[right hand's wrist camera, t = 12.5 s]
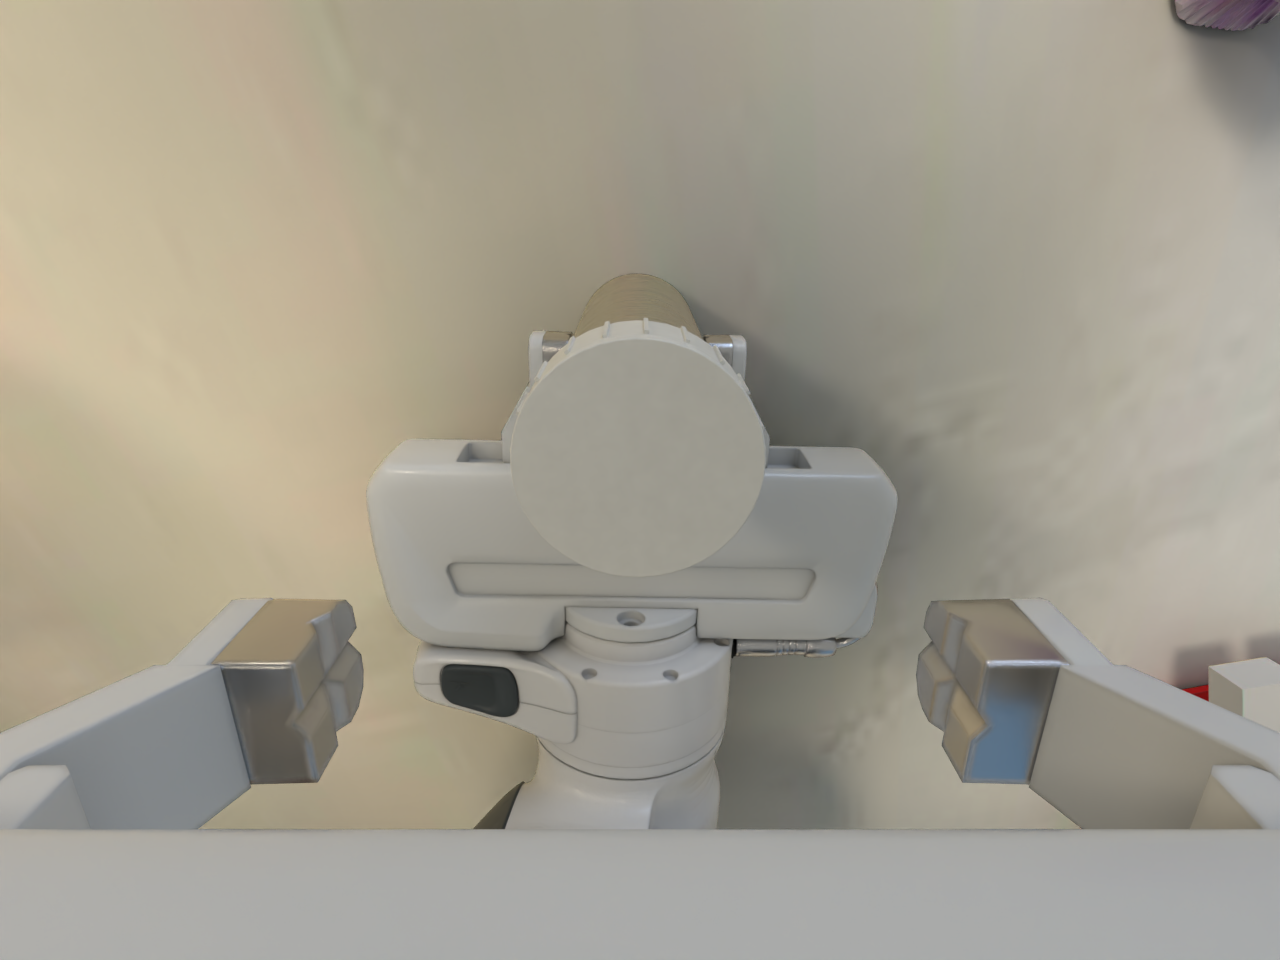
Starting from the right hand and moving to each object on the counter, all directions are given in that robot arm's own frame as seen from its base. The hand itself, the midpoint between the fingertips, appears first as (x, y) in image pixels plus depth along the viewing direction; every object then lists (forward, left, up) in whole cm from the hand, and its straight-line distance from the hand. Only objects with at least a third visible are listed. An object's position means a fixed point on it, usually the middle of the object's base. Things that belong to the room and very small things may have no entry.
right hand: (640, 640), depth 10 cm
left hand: (0, +1, -18) cm, 18 cm away
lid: (0, 0, -7) cm, 7 cm away
